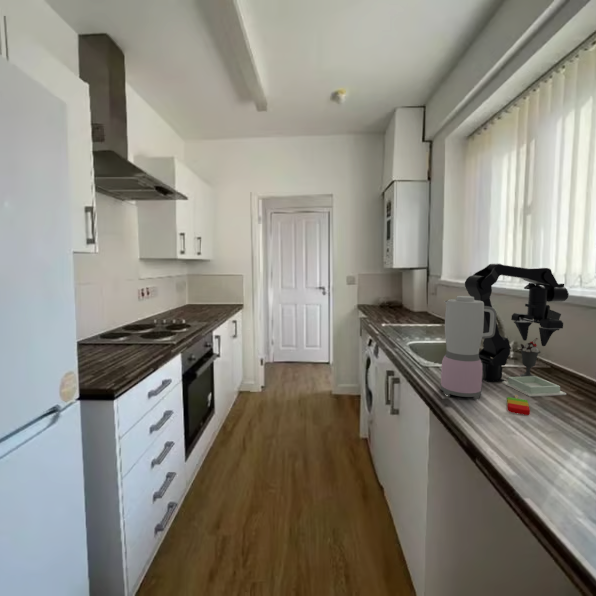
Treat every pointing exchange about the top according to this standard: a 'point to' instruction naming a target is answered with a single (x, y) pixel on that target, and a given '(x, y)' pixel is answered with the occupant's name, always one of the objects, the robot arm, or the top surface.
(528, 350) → the sundae
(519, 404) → the popsicle
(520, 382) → the holder cell
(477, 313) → the blender
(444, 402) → the top surface
